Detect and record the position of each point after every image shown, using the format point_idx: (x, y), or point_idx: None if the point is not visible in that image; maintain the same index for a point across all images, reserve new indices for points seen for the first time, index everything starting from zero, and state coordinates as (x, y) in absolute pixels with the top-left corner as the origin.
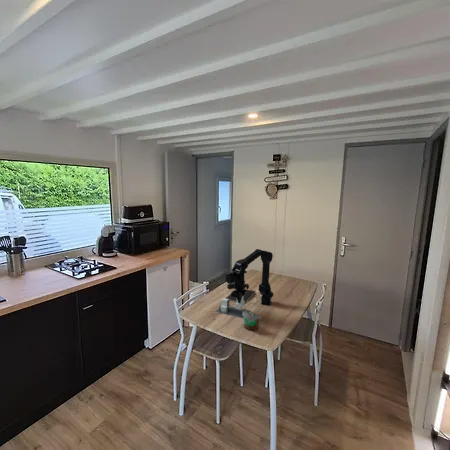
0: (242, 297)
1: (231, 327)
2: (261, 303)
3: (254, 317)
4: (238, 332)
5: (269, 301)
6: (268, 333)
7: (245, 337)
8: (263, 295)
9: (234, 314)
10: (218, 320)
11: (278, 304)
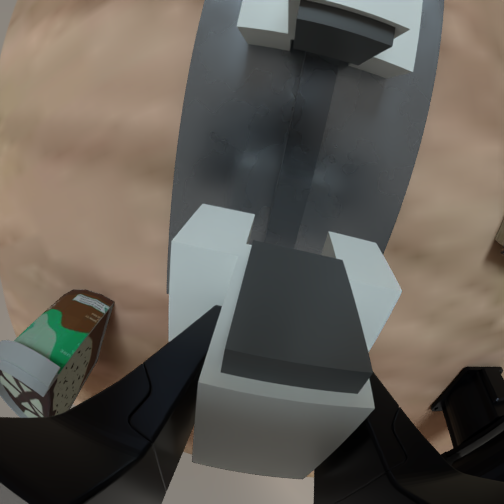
0: (230, 465)
1: (28, 200)
2: (466, 372)
3: (21, 407)
4: (16, 259)
5: (448, 423)
6: (97, 392)
7: (11, 298)
8: (491, 423)
9: (217, 169)
10: (74, 46)
11: (435, 429)
